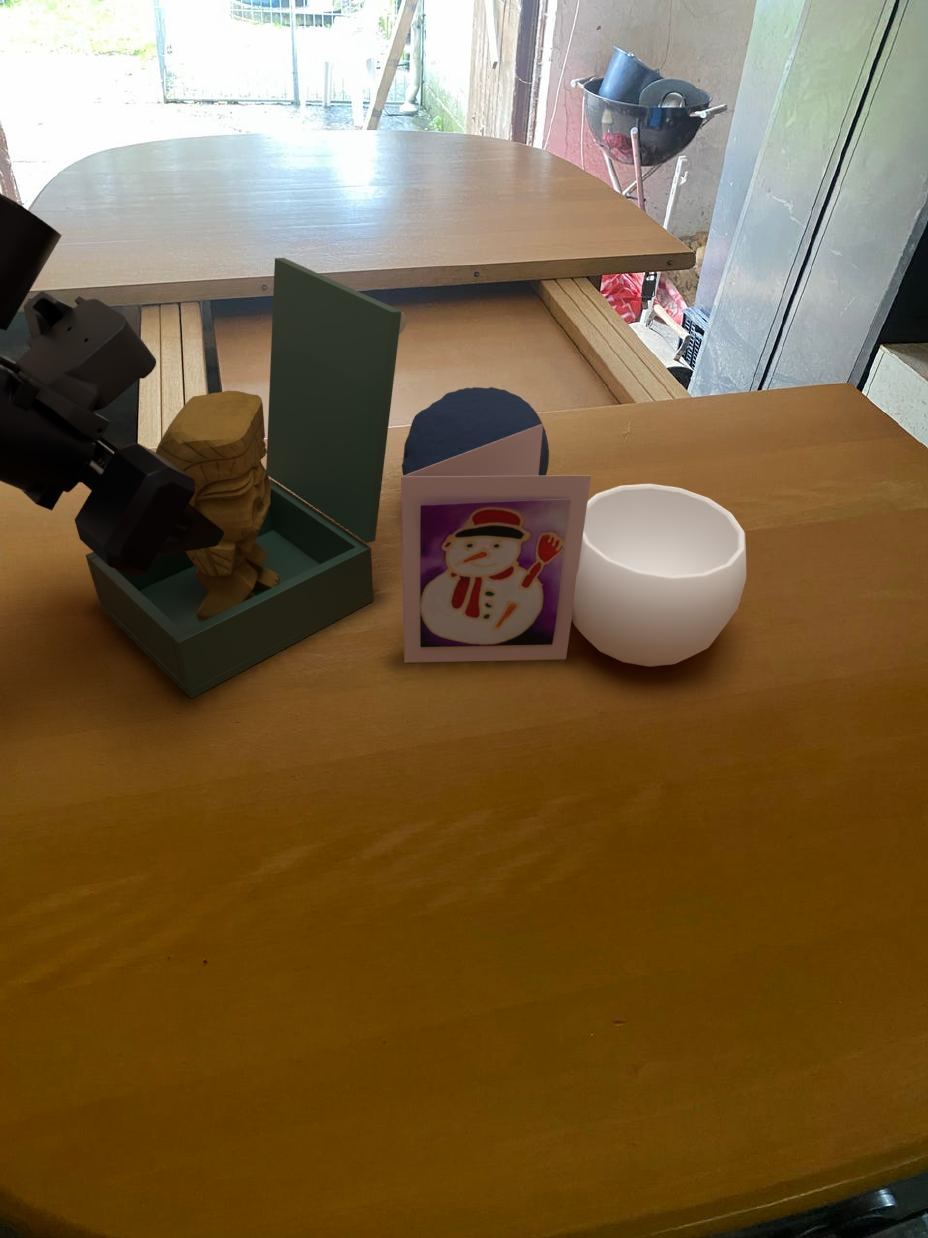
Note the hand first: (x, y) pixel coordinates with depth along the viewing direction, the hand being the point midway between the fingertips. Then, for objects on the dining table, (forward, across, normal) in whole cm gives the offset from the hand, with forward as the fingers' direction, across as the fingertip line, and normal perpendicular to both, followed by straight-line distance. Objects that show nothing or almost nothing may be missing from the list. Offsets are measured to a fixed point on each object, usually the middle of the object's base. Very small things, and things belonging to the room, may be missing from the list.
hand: (181, 508), depth 61 cm
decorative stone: (+24, -3, -10) cm, 27 cm away
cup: (+23, -22, -9) cm, 33 cm away
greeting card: (+17, -14, -3) cm, 23 cm away
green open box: (+9, 0, +5) cm, 10 cm away
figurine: (+8, 0, +5) cm, 10 cm away
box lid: (+6, 0, -11) cm, 12 cm away
